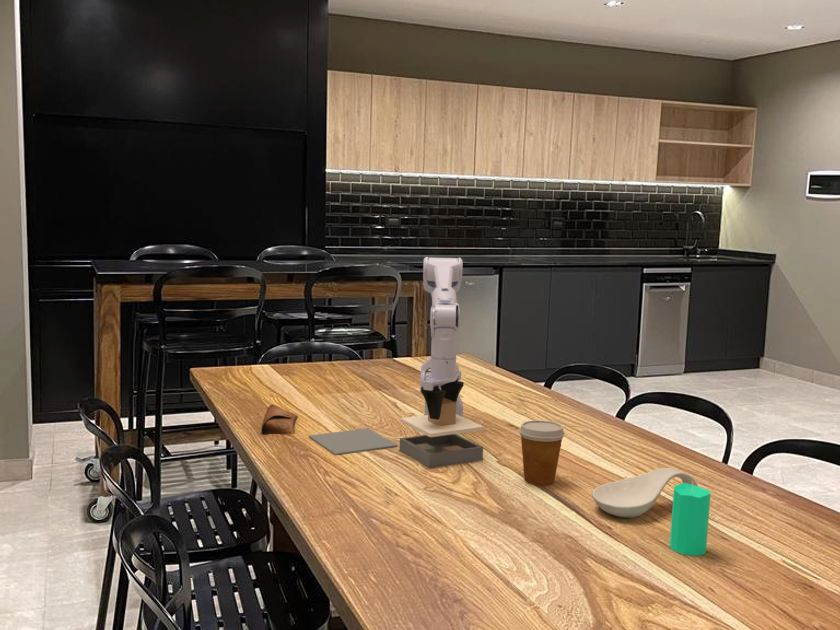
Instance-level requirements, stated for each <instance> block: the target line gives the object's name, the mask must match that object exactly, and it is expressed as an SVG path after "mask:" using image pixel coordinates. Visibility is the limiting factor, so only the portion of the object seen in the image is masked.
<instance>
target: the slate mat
mask: <svg viewBox="0 0 840 630" xmlns="http://www.w3.org/2000/svg"><path fill="white" fill-rule="evenodd" d="M308 438H309V439H311V440H312V441H313V442H314V443H317V445H319V446H321V447H323V448H324V449H325V450H327V451H328V452H330V453H331V454H333V455H334V456H339V455H346V454H354V453H355V454H356V453H362V452H368V451H376V450H384V449H391V448H397V447H398V444H397V443H395V442H392V441H391V440H389V439H388V438H386V437H384V436H383V435H381V434H379V433H377V432H375V431H374V430H371V429H370V428H369V427H368V428H367V427H366V428H358V429H351V430H342V431H341V430H340V431H335V432H327V433H318V434H311V435H308Z"/></svg>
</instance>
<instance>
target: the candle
mask: <svg viewBox="0 0 840 630" xmlns="http://www.w3.org/2000/svg"><path fill="white" fill-rule="evenodd" d="M672 493H673V494H672V506H671V507H672V509H671V510H672V511H671V522H670V523H671V525H670V535H669V536H670V539H669V546H670V549H671V550H672V551H673V552H675V553H678V554H682V555H684V556H694V557H695V556H703V555H704V554H705V553H706V552H707V544H708V530H709V518H710V517H709V516H710V506H711V504H710V503H711V492H710V490H709V489H706V488H703V487H700V486H699V485H698V486H695V485H693V481H692V485H691V484H687V483H683V482H682V483H680V484H676V485H675V486H673V492H672Z"/></svg>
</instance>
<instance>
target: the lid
mask: <svg viewBox="0 0 840 630" xmlns="http://www.w3.org/2000/svg"><path fill="white" fill-rule="evenodd" d="M399 419H400V421H399V422H400V423H402V424H405V425H406V426H408V427H410V428H411V429H413V430H415V431H417V432H419V433H421V434H422V435H427V436H429V437H436V436H444V435H451V434H457V435H459V434H463V433H472V432H479V431H484V430H485V426H483V425H481V424H480V423H477V422H475V421H472V420H470V419H468V418H466V417H464V416H463V417H461V416H459V415H457V414H456V402H454V401H451V400H449V399H447V398H443V401H442V406H441V414H440V418H439V419H438V420H436V419H430V416H429V412H428V415H416V416H409V417H408V416H407V417H400V418H399Z"/></svg>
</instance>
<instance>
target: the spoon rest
mask: <svg viewBox="0 0 840 630" xmlns="http://www.w3.org/2000/svg"><path fill="white" fill-rule="evenodd" d="M674 478H679V479H681V481H682V482H681V483H682V484H683V483H687V484H691V485H692V481H693V485H695V486H698V487H699V485H698V482H696V480H695V479H694V478H693V477H692V476H691V475H690V474H688V473H685V472H682V471H681V470H678V469H676V468H673V467H661V468H658V469H654V470H651V471H649V472H648V471H647V472H645V473H641V474H638V475H636V476H631V477H628V478H625V479H624V478H623V479H620V480H616V481H611V482H608V483H604V484H601V485H599V486H597V487H595V488H594V489H593V490H592V492H591V496H592V498H593V501H595V503H596V505H597V506H598V507H599V508H600V509H601V510H602V511H604V512H606V513H608V514H610V515H613V516H616V517H619V518H626V519H627V518H629V519H630V518H638V517H640V516H641V515H643V514H644V513H646V512H647V511H648V510H649V509H651V508H652V507H653V505H654V504H655V502H656V501H657V499H659V496H660V495H661V494H662V492H663V490H664V488H665V487H666V486H667V484H668V483H669V481H670V480H672V479H674Z"/></svg>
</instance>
